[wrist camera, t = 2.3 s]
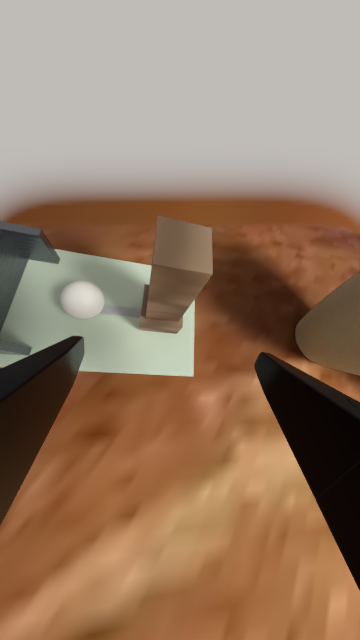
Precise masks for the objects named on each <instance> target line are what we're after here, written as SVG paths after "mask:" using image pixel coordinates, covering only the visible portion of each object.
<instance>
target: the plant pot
mask: <svg viewBox="0 0 360 640" xmlns="http://www.w3.org/2000/svg"><path fill="white" fill-rule="evenodd" d="M295 338H296V342H297V345H298V347H299V349H300V350H301V352H302V353H303V354H304V356H305V357H306V358H308V359H309V360H310V361H312V362H314V363H316V364H319V365H322V366H326V367H329V368H332V369H336V370H339V371H343V372H347V373H351V374H355V375H359V376H360V271H359V272H358V273H356V274H355V275H354V276H352V277H351V278H350V279H348V280H347V281H345V282H344V283H343V284H341V285H340V286H339V287H338V288H336V289H335V290H334V291H332V292H331V293H330V294H329V295H327V296H326V297H325V298H324V299H323V300H322V301H320V302H319V303H318V304H317V305H316V306H315V307H314V308H312V309H311V310H310V311H309V312H308V313H307V314H306V315H305V316H304V317H303V318H302V319H301V320H300V321H299V322H298V324H297V326H296V329H295Z"/></svg>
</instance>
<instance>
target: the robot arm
mask: <svg viewBox="0 0 360 640" xmlns="http://www.w3.org/2000/svg"><path fill="white" fill-rule="evenodd" d="M84 353H85V349H84V338H83V337H82V336H71V337H69V338H66V339H64V340H62V341H60V342H58V343H56V344H53V345H51V346H49V347H47V348H45V349H42V350H40V351H38V352H36V353H34V354H32V355H29V356H27V357H25V358H23V359H21V360H18V361H16V362H14V363H12V364H10V365H8V366H5V367H3V368H1V369H0V525H1V524H2V522H3V520H4V518H5V516H6V514H7V512H8V510H9V508H10V506H11V504H12V502H13V500H14V498H15V497H16V495H17V493H18V491H19V489H20V487H21V485H22V483H23V481H24V479H25V477H26V475H27V473H28V471H29V470H30V468H31V466H32V464H33V462H34V460H35V458H36V456H37V454H38V452H39V450H40V448H41V446H42V444H43V443H44V441H45V439H46V437H47V435H48V433H49V431H50V429H51V427H52V425H53V423H54V421H55V419H56V417H57V415H58V414H59V412H60V410H61V408H62V406H63V404H64V402H65V400H66V398H67V396H68V394H69V392H70V390H71V388H72V386H73V384H74V381H75V379H76V376H77V373H78V371H79V368H80V365H81V362H82V360H83V357H84ZM254 367H255V370H256V373H257V376H258V378H259V381H260V384H261V386H262V389H263V392H264V394H265V396H266V398H267V400H268V402H269V404H270V407H271V409H272V411H273V413H274V415H275V417H276V419H277V421H278V423H279V425H280V427H281V429H282V431H283V433H284V435H285V437H286V439H287V442H288V444H289V446H290V448H291V450H292V452H293V454H294V456H295V458H296V460H297V462H298V464H299V466H300V468H301V470H302V472H303V475H304V477H305V479H306V481H307V483H308V485H309V487H310V489H311V491H312V493H313V495H314V497H315V499H316V502H317V504H318V506H319V508H320V510H321V512H322V514H323V516H324V518H325V520H326V522H327V524H328V526H329V529H330V531H331V533H332V535H333V537H334V539H335V541H336V543H337V545H338V547H339V549H340V551H341V553H342V555H343V557H344V559H345V562H346V564H347V566H348V568H349V570H350V572H351V574H352V576H353V578H354V580H355V582H356V584H357V586H358V588H359V590H360V402H358V401H356V400H354V399H353V398H351V397H349V396H347V395H345V394H343V393H341V392H340V391H338V390H336V389H334V388H332V387H330V386H329V385H327V384H325V383H323V382H321V381H319V380H318V379H316V378H314V377H312V376H310V375H308V374H307V373H305V372H303V371H301V370H299V369H297V368H296V367H294V366H292V365H290V364H288V363H286V362H284V361H283V360H281V359H279V358H277V357H275V356H273V355H272V354H270V353H265V352H261V353H260V354H259V356H258V358H257V360H256V362H255V365H254Z"/></svg>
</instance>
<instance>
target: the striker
mask: <svg viewBox="0 0 360 640" xmlns="http://www.w3.org/2000/svg"><path fill="white" fill-rule="evenodd" d="M157 220H158V221H157V227H156V235H155V244H154V252H153V260H152V268H151V276H150V284H149V285H147V284H145V285H144V293H143V302H142V310H141V318H140V330H142V331H152V332H163V333H173V334H177V333H178V332H179V331H180V330H181V328H182V327H183V315H184V313H185V312H186V311H187V309H188V308H189V306H190V305H191V304H192V302H193V301H194V300H195V298H196V297H197V295H198V294H199V293H200V291H201V290H202V288H203V287H204V286H205V284H206V283H207V282H208V280H209V279H210V277H211V276H212V275H213V262H212V228H210V227H205V226H201V225H197V224H192V223H188V222H184V221H179V220H175V219H170V218H166V217H162V216H158V219H157Z"/></svg>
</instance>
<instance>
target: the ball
mask: <svg viewBox="0 0 360 640" xmlns="http://www.w3.org/2000/svg"><path fill="white" fill-rule="evenodd" d="M60 301H61V305H62V307H63V309H64V310H65V311H66V312H67V313H68V314H69V315H70V316H72V317H74V318H78V319H90V318H93V317H95V316H96V315H98V314H99V313H100V312H101V310H102V309H103V306H104V295H103V293H102V291H101V290H100V288H99V287H97V286H96V285H95V284H93V283H91V282H88V281H82V280H80V281H74V282H72V283H70V284H68V285H67V286H66V287H65V288H64V289H63V291H62V293H61V297H60Z"/></svg>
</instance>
